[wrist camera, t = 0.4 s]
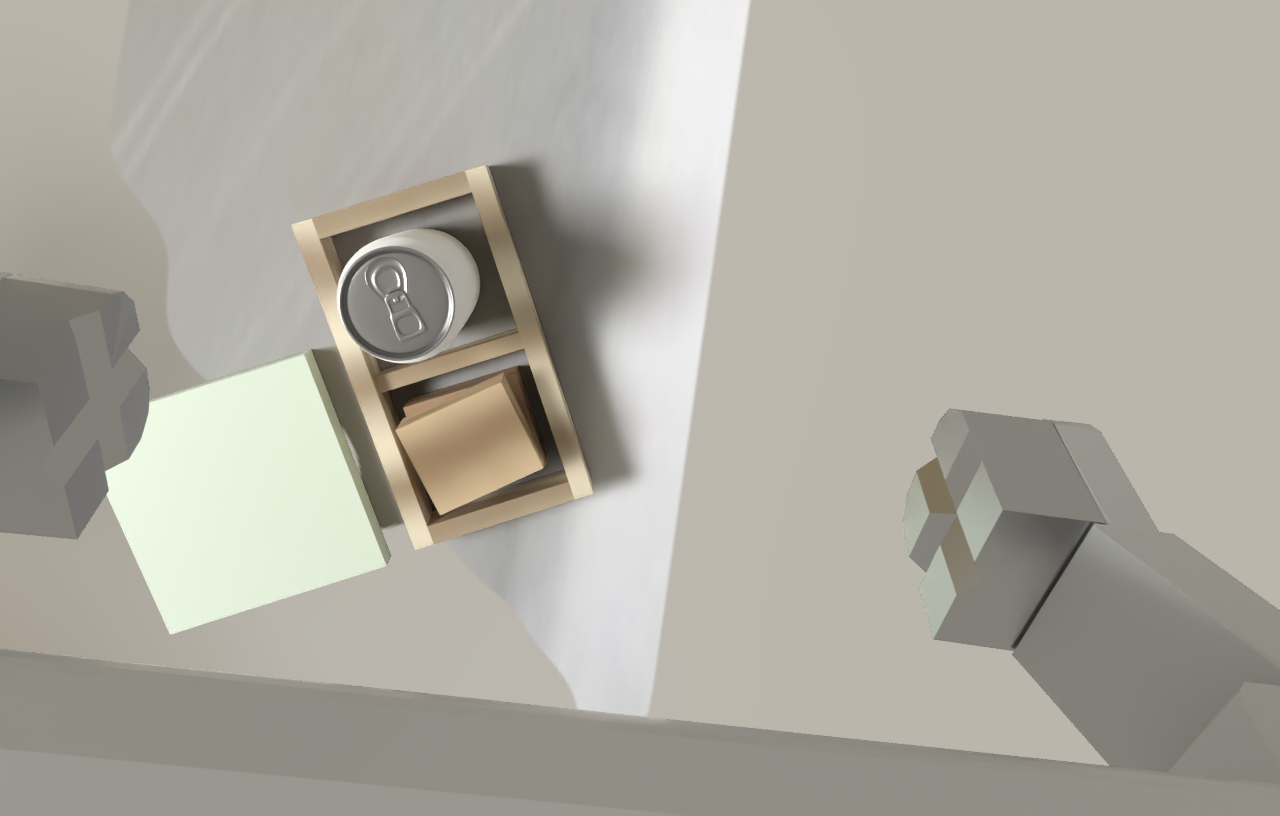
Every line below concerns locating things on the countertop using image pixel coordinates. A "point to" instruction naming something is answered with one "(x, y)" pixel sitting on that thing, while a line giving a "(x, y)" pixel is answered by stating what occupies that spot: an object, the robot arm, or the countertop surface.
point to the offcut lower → (444, 393)
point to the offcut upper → (471, 444)
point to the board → (244, 495)
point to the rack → (447, 363)
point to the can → (408, 294)
